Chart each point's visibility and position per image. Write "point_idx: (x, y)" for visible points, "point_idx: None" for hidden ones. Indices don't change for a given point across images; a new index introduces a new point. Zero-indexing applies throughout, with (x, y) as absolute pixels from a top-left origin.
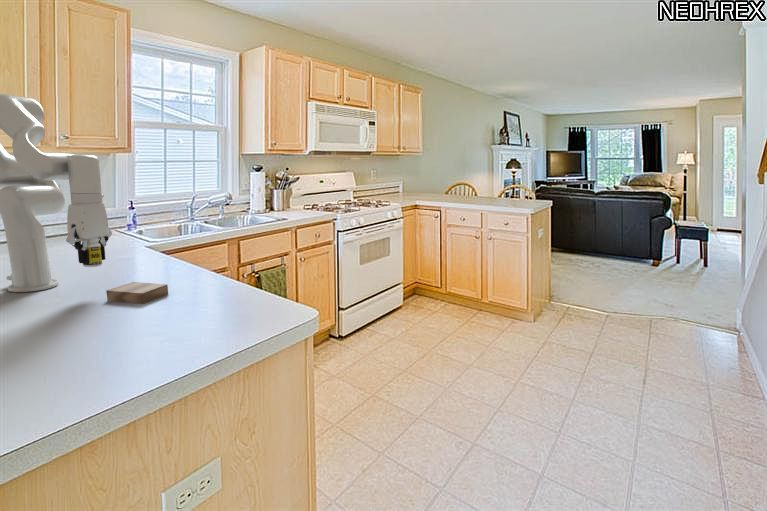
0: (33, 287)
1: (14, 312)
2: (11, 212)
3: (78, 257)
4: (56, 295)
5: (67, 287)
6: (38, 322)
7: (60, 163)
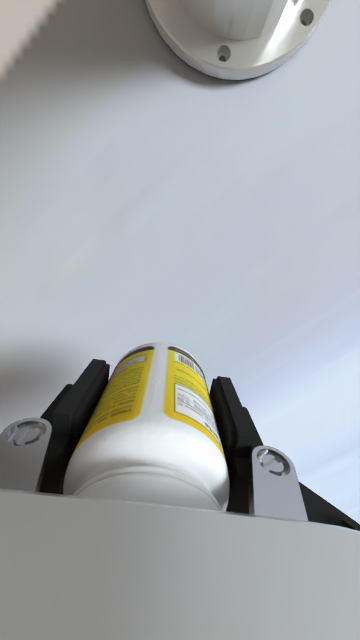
0: (173, 18)
1: None
2: None
3: (61, 391)
4: (129, 201)
5: (246, 148)
6: None
7: None
